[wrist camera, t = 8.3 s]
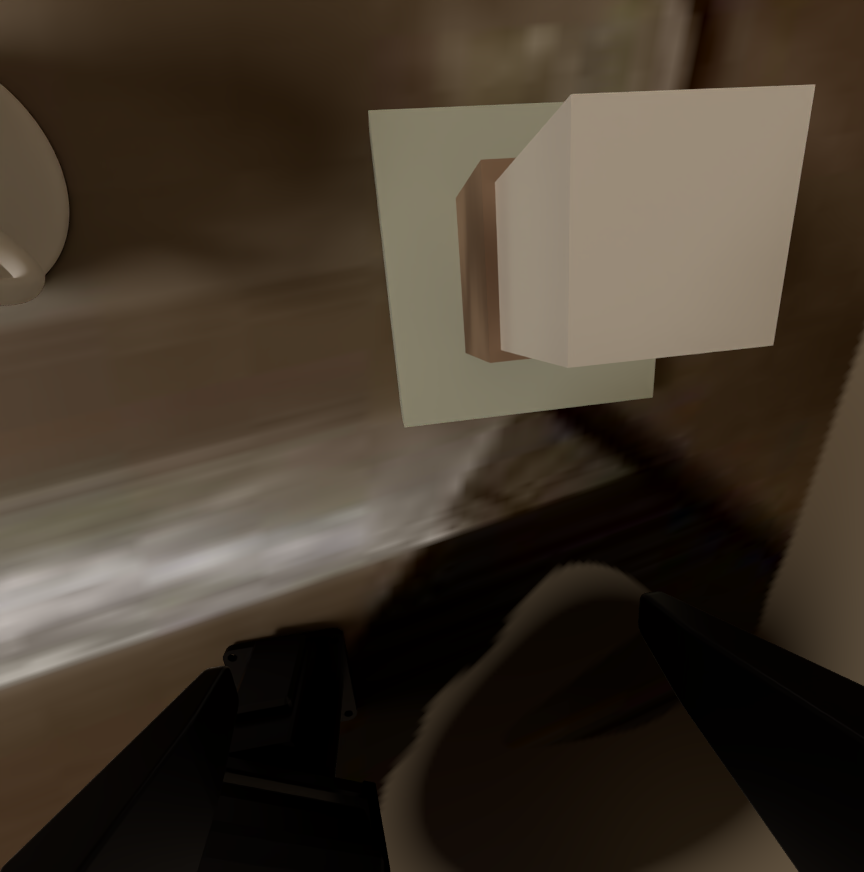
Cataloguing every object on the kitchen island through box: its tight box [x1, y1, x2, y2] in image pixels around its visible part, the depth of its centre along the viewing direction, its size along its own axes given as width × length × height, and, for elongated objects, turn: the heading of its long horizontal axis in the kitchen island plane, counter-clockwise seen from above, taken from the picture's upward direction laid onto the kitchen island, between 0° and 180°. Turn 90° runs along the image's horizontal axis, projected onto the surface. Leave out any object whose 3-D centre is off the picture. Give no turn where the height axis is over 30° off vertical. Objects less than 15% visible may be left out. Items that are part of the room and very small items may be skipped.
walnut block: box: [456, 158, 532, 363], centre depth 15 cm, size 6×6×4 cm
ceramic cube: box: [495, 85, 815, 368], centre depth 11 cm, size 5×5×5 cm
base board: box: [368, 102, 656, 427], centre depth 18 cm, size 12×12×2 cm
